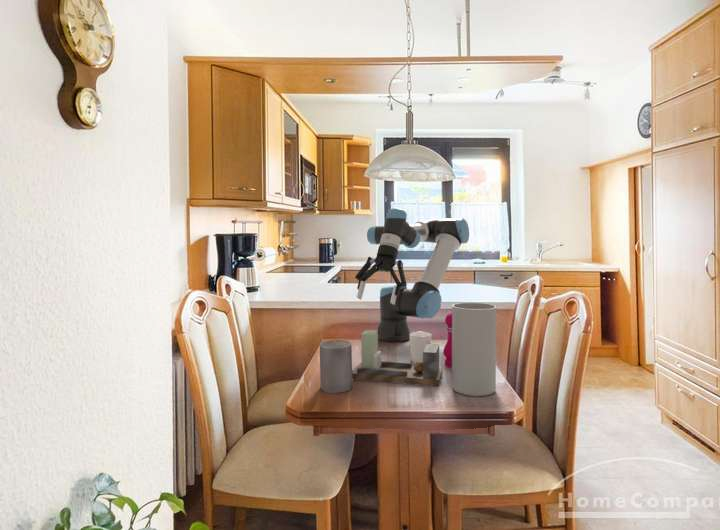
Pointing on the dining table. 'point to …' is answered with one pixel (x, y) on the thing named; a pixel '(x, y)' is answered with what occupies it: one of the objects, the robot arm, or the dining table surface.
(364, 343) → the block
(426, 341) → the white cup
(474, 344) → the cylinder vase
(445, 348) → the pink bowling pin
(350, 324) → the dining table surface
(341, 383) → the pillar candle
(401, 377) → the press bench
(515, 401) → the dining table surface
